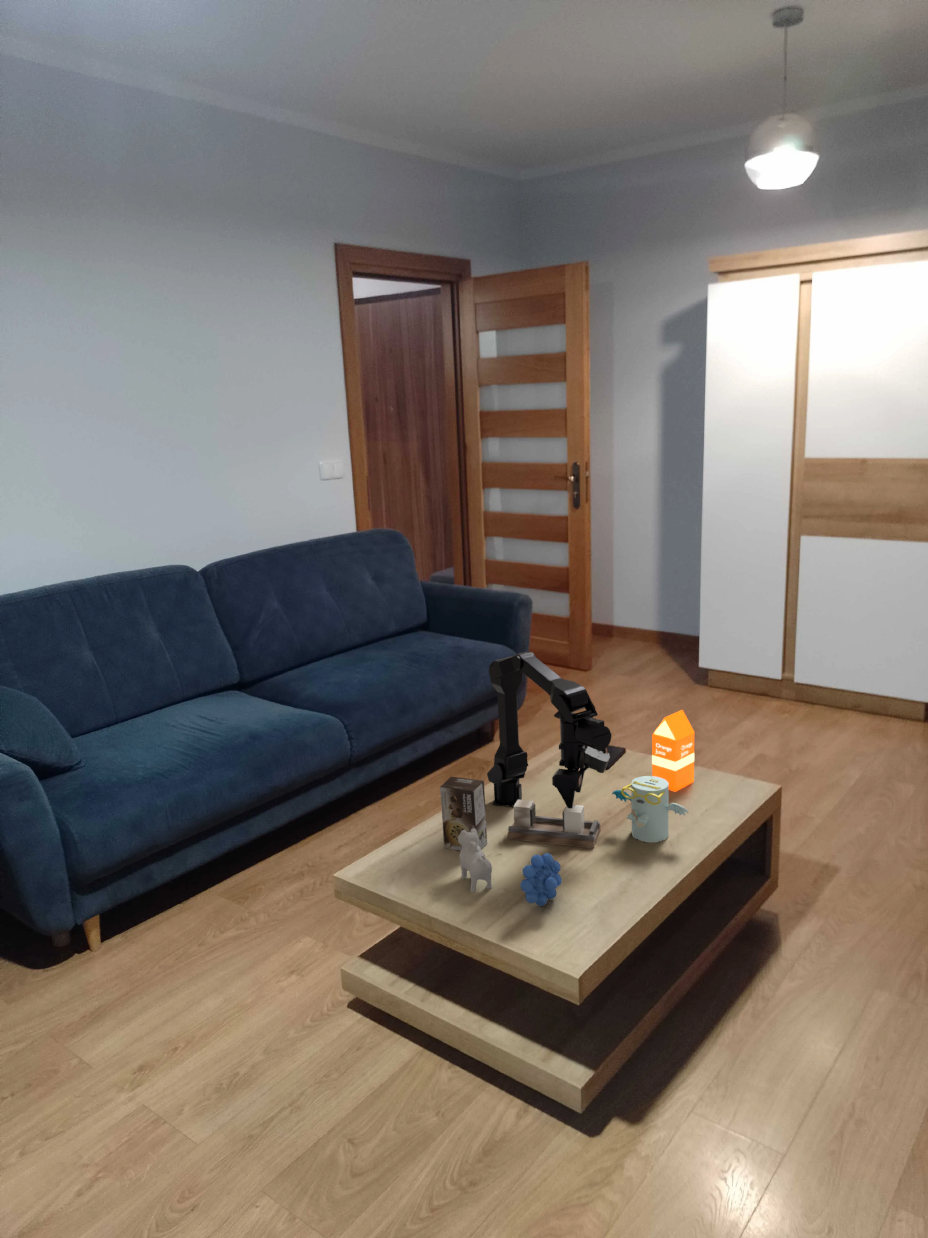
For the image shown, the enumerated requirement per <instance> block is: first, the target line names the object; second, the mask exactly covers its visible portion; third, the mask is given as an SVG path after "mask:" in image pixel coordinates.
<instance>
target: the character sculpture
mask: <svg viewBox="0 0 928 1238" xmlns="http://www.w3.org/2000/svg"><path fill="white" fill-rule="evenodd" d="M625 790H627V791H628V790H629V791H630V792H631V793H630V794H631V795H630V794H629V793H628V792H626V791H625ZM669 791H670V790H669V784H668V782H667V780H665V779H663V778H660V777H655V776H652V775H644V776H643V775H642V776H637V777H636V778H633V779H632V780H631V782H630V783H629V784H627V785H625V786H624V787H623V786H622V787H621V789H616V790H613V792H612V793H611V795H615V799H616V800H617V799H619V800H620V802H623V801H624V802H625V803H626V802H627V800H629V801H630V802H631V812H630V813H629V814H627V816H626V819H627V820H630V821H631V835H632V837H633V838H634V839H636V840H637V839H638V841H640V840H641V841H640V842H643V841H645V843H660V842H662V840H663V841H665V840H667V839H668V838H669V811H673V812H674V814H675V815H677V814H679V816H681V815H683V816H684V817H685V816H686V814H689V810H688V809H687V808H686V807H684V806H683V805H682V804H681V805H680V804H679V803H676V802H670V804H669V798H670V797H669ZM666 838H667V839H666ZM659 841H660V842H659Z"/></svg>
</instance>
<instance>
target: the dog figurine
mask: <svg viewBox="0 0 928 1238" xmlns="http://www.w3.org/2000/svg"><path fill="white" fill-rule="evenodd" d="M458 842H459V843H460V844H461V845H462V850H461V851H459V852H460V853H459V863H460V864H459V865H460V871H461V876H460V877H461V879H467V878H468V872H469V877H470V882H471V883H470V893H475V892H477V885H478V881H479V880H482V881H485V882H486V886H485V887H484V888H485V889H488V890H489V889H492V888H493V884H492V872H493V866H492V863H491V862H490V860H489V859H488V858H486V854H485V852H484V851H483V849H481V847H480V846H479V837H478V835H477V831H476V829H471V832H468V833H467V832H466V830H462V831H461V834H460V835H459V836H458Z"/></svg>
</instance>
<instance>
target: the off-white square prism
mask: <svg viewBox="0 0 928 1238" xmlns="http://www.w3.org/2000/svg"><path fill="white" fill-rule="evenodd" d="M562 819H563V830H565V832H572V833H583V831H584V821H585V807H584V805H581V804H573V808H572V809H571V808H567V806H564V809H563V810H562Z"/></svg>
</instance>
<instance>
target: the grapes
mask: <svg viewBox="0 0 928 1238" xmlns="http://www.w3.org/2000/svg"><path fill="white" fill-rule="evenodd" d="M560 872H561V864H560V863H559V861H558V860H555V859H554V857H553V854H552V853H550V852H544V853H543V854H542V855H540V854H534V855H533V856H531V858H530V864H526V865H525V866H523V867H522V875H523V877H524V879H522V881H521V882H520V889H521V892H522V893H523V892H524V893H525V897H524V898H525V900H526V902H527V903H529V904H530V905H531V904H536V905H537V906H539V907H543V906H545V905H546V904H547V902H548V900H553V899H555V898H556V896H557V893H558V892H557V888H558V887H559V886H561V885H562V882H563V881H562V880H563V878H562V876H561V875H560V874H559V873H560Z"/></svg>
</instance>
